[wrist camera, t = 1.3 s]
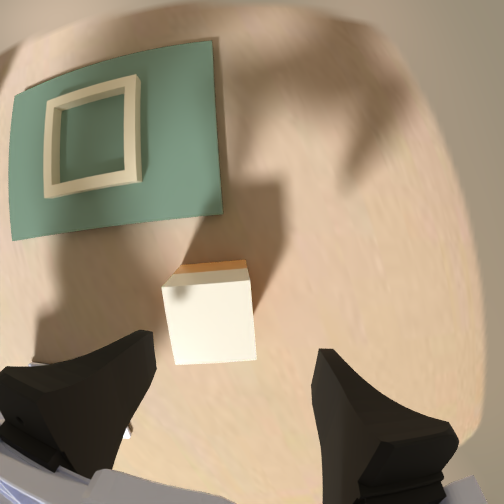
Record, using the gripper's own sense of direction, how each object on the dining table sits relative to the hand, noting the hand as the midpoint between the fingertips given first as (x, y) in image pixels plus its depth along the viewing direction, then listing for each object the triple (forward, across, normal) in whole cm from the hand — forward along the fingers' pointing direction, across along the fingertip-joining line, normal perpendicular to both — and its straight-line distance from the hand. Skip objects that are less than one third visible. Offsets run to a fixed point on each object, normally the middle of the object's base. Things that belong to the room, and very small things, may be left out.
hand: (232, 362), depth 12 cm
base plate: (+9, +12, -10) cm, 18 cm away
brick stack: (+9, +2, +1) cm, 9 cm away
